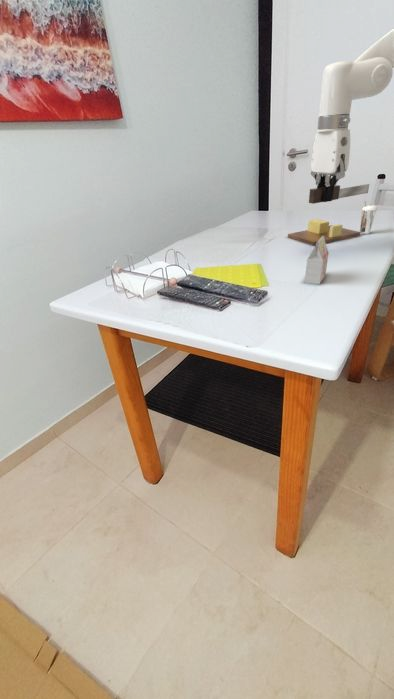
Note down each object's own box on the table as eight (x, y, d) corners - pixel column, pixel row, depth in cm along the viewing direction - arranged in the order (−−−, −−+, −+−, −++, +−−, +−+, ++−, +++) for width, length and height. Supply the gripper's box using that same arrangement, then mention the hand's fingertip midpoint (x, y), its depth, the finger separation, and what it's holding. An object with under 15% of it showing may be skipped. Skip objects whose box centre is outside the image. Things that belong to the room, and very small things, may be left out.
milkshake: (365, 230, 122) (371, 200, 117) (374, 233, 118) (380, 203, 112) (353, 231, 122) (359, 202, 116) (362, 235, 117) (368, 204, 112)
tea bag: (304, 282, 85) (308, 242, 80) (311, 273, 90) (315, 235, 85) (319, 284, 83) (325, 243, 78) (325, 275, 88) (331, 236, 83)
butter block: (316, 229, 124) (317, 219, 122) (327, 232, 119) (329, 221, 117) (307, 230, 123) (308, 220, 121) (318, 234, 118) (320, 223, 116)
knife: (313, 203, 95) (314, 189, 93) (308, 202, 96) (309, 189, 94) (370, 193, 101) (372, 180, 99) (364, 192, 103) (367, 179, 101)
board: (331, 228, 128) (331, 225, 127) (359, 235, 117) (360, 232, 116) (287, 237, 122) (287, 233, 121) (313, 245, 111) (314, 242, 110)
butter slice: (337, 234, 115) (339, 224, 114) (341, 235, 114) (342, 224, 112) (328, 236, 114) (330, 226, 112) (331, 237, 113) (333, 226, 111)
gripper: (368, 121, 82) (355, 202, 92) (323, 125, 94) (315, 196, 104) (344, 123, 80) (333, 206, 90) (301, 127, 92) (295, 199, 102)
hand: (323, 200), depth 97 cm, fingers closed on knife, 2 cm apart
